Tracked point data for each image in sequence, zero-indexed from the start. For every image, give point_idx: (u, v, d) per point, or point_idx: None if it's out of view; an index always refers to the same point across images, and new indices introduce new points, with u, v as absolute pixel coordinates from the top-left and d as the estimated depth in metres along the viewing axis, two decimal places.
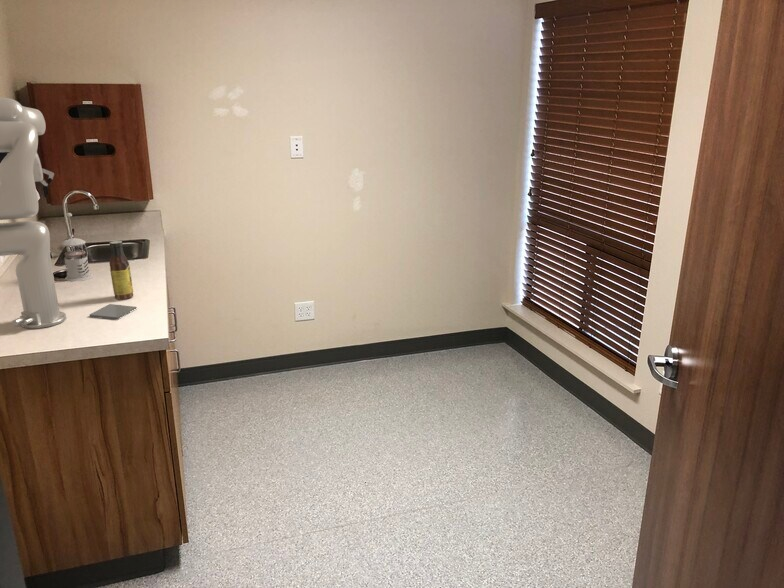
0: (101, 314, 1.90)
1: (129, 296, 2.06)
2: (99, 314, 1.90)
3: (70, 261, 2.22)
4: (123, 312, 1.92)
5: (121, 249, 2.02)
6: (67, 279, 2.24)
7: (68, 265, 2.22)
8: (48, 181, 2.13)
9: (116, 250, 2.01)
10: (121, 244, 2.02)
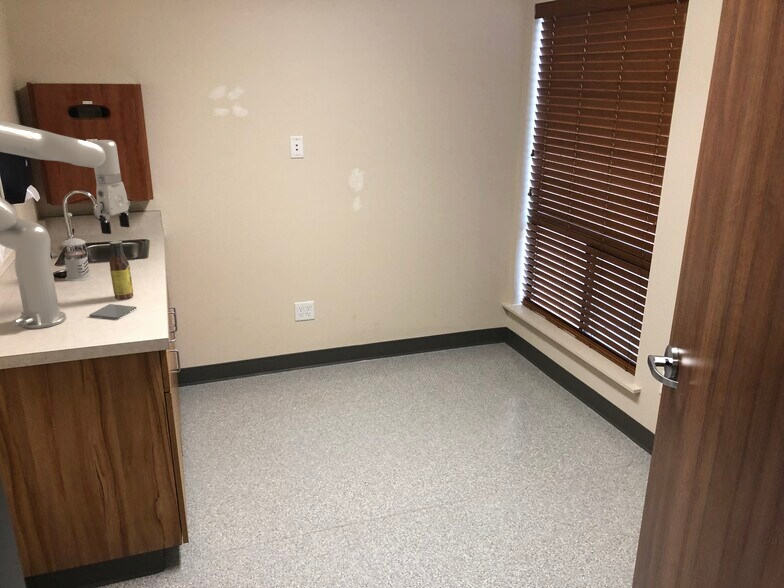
0: (101, 314, 1.90)
1: (129, 296, 2.06)
2: (99, 314, 1.90)
3: (70, 261, 2.22)
4: (123, 312, 1.92)
5: (121, 249, 2.02)
6: (67, 279, 2.24)
7: (68, 265, 2.22)
8: (127, 210, 2.04)
9: (116, 250, 2.01)
10: (121, 244, 2.02)
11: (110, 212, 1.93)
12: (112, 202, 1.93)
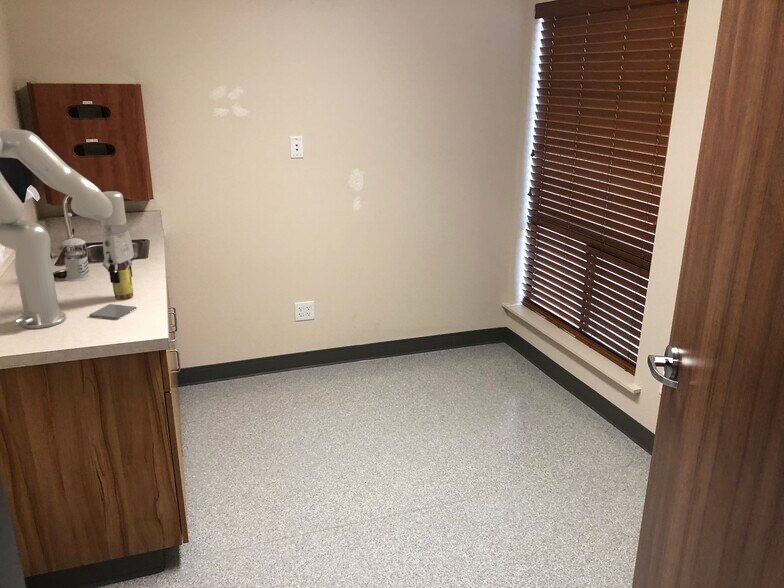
0: (101, 314, 1.90)
1: (129, 296, 2.06)
2: (99, 314, 1.90)
3: (70, 261, 2.22)
4: (123, 312, 1.92)
5: None
6: (67, 279, 2.24)
7: (68, 265, 2.22)
8: (130, 260, 2.09)
9: None
10: None
11: (116, 261, 1.99)
12: (118, 251, 1.99)
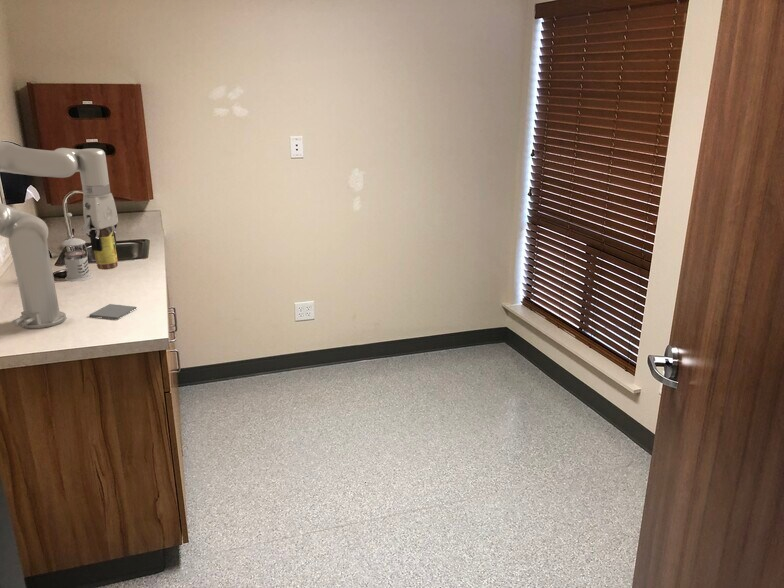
0: (101, 314, 1.90)
1: (113, 266, 1.87)
2: (99, 314, 1.90)
3: (70, 261, 2.22)
4: (123, 312, 1.92)
5: None
6: (67, 279, 2.24)
7: (68, 265, 2.22)
8: (114, 227, 1.90)
9: None
10: None
11: (97, 226, 1.79)
12: (100, 215, 1.80)
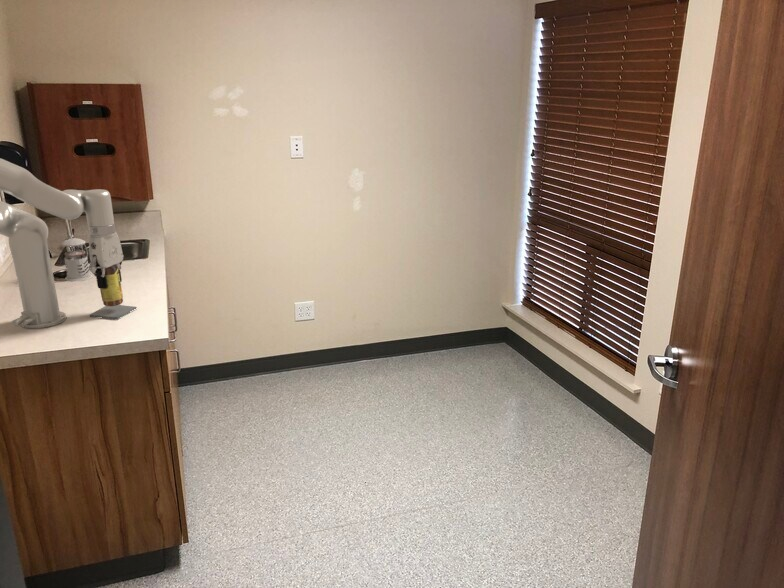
0: (101, 314, 1.90)
1: (118, 302, 1.91)
2: (99, 314, 1.90)
3: (70, 261, 2.22)
4: (123, 312, 1.92)
5: None
6: (67, 279, 2.24)
7: (68, 265, 2.22)
8: (120, 264, 1.94)
9: None
10: None
11: (103, 265, 1.83)
12: (105, 254, 1.84)
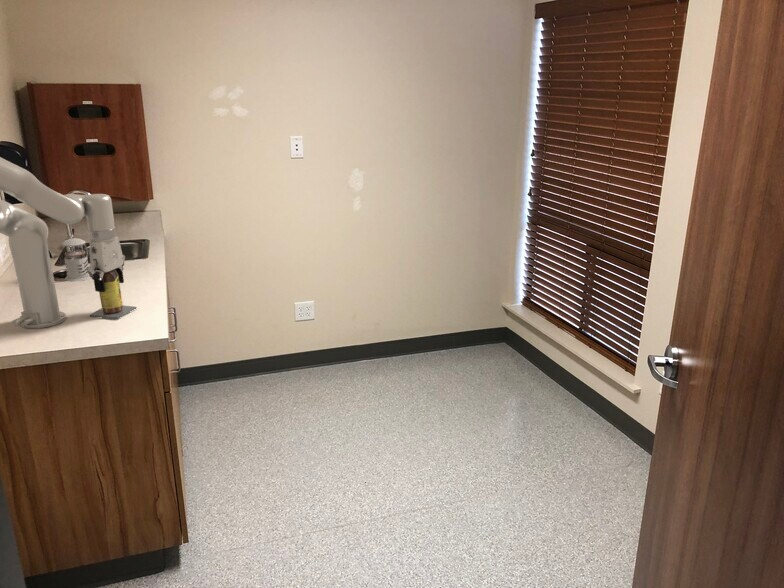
0: (101, 314, 1.90)
1: (118, 310, 1.92)
2: (99, 314, 1.90)
3: (70, 261, 2.22)
4: (123, 312, 1.92)
5: None
6: (67, 279, 2.24)
7: (68, 265, 2.22)
8: (122, 265, 1.95)
9: None
10: None
11: (104, 269, 1.84)
12: (106, 258, 1.84)
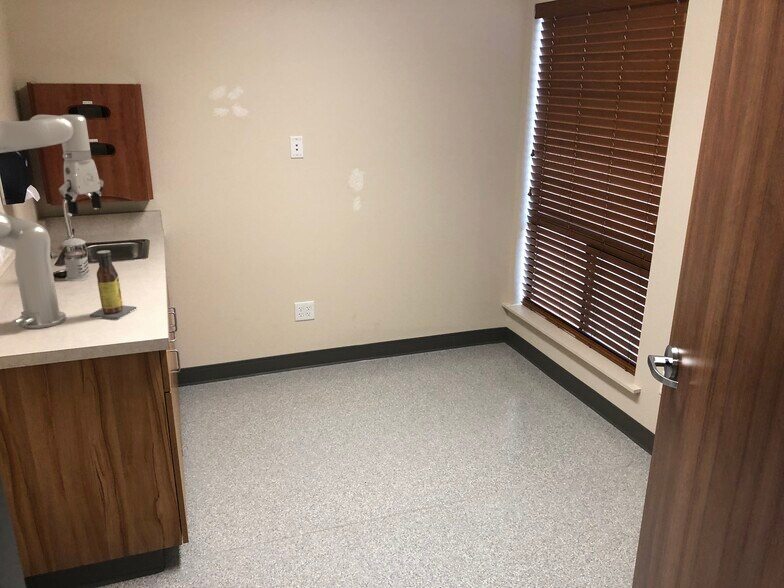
0: (101, 314, 1.90)
1: (118, 310, 1.92)
2: (99, 314, 1.90)
3: (70, 261, 2.22)
4: (123, 312, 1.92)
5: (109, 259, 1.88)
6: (67, 279, 2.24)
7: (68, 265, 2.22)
8: (100, 190, 1.94)
9: (104, 260, 1.86)
10: (109, 254, 1.87)
11: (77, 191, 1.83)
12: (79, 180, 1.83)
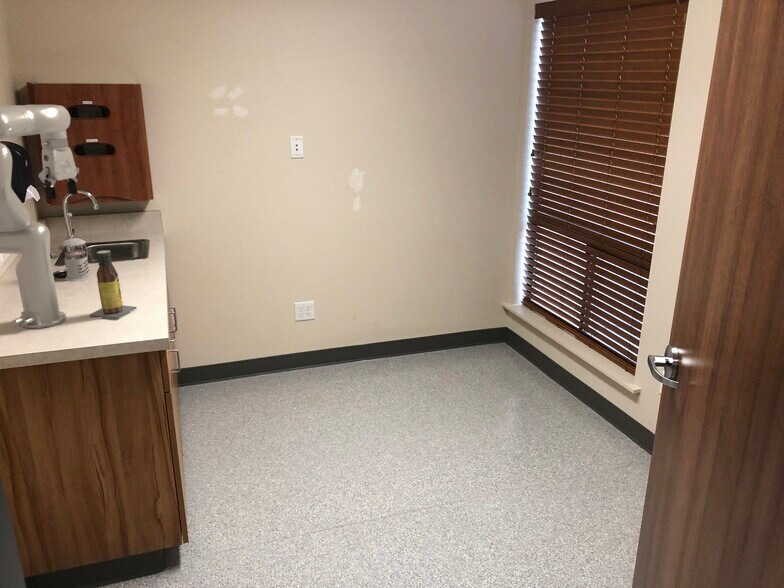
0: (101, 314, 1.90)
1: (118, 310, 1.92)
2: (99, 314, 1.90)
3: (70, 261, 2.22)
4: (123, 312, 1.92)
5: (109, 259, 1.88)
6: (67, 279, 2.24)
7: (68, 265, 2.22)
8: (76, 177, 2.04)
9: (104, 260, 1.86)
10: (109, 254, 1.87)
11: (56, 177, 1.93)
12: (58, 167, 1.93)
